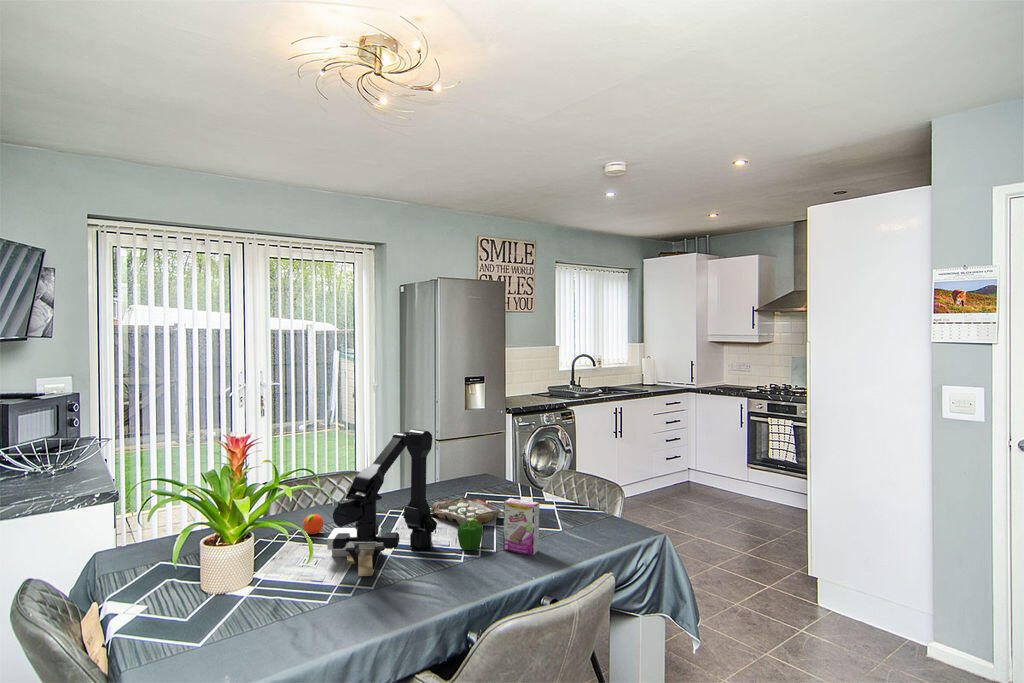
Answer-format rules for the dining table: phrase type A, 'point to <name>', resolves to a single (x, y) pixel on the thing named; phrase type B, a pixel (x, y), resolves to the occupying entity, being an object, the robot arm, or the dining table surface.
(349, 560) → the token
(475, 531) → the bell pepper
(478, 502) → the egg carton
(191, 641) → the dining table surface
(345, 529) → the white rectangular box
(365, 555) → the wooden mallet
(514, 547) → the candy bar box
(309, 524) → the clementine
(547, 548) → the dining table surface
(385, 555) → the dining table surface
